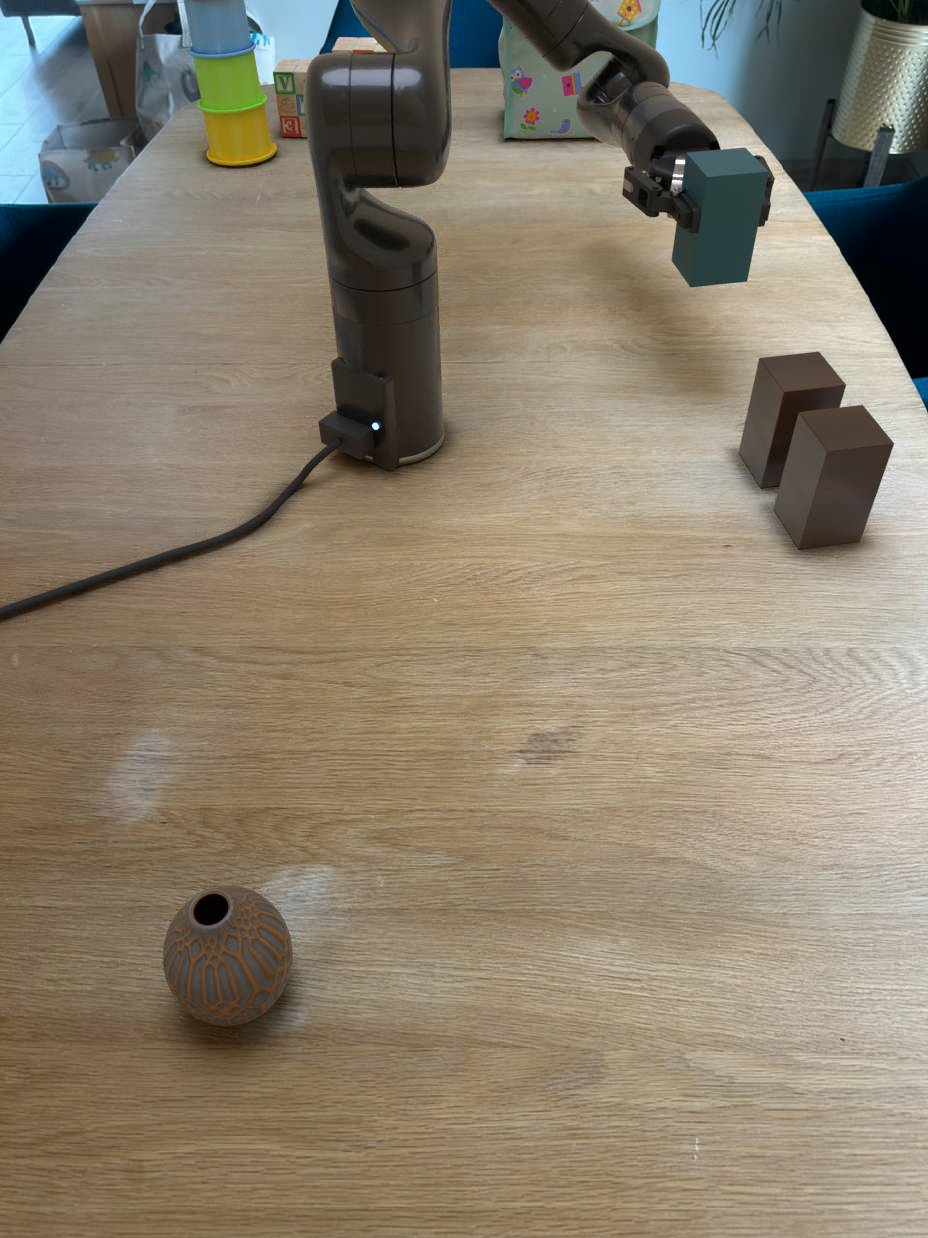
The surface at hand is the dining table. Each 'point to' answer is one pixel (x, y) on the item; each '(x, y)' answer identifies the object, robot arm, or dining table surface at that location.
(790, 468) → the walnut block front
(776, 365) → the walnut block middle
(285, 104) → the stack of blocks
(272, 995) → the vase
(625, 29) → the lunch bag
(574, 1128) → the dining table surface
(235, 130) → the stacking cups
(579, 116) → the robot arm
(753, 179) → the teal block
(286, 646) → the dining table surface
